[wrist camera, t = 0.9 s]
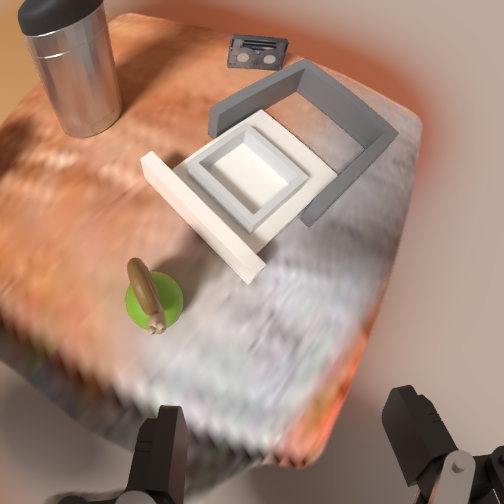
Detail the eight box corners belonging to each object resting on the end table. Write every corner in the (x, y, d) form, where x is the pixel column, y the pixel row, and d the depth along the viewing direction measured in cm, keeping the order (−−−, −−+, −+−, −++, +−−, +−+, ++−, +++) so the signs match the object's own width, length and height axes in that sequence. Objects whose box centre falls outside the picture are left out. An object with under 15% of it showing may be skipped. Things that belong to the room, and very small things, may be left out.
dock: (207, 134, 37) (210, 107, 33) (296, 81, 43) (305, 58, 38) (309, 227, 36) (324, 209, 31) (382, 152, 41) (399, 133, 37)
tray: (145, 178, 34) (140, 158, 30) (251, 106, 39) (256, 86, 36) (248, 284, 32) (255, 275, 28) (345, 188, 38) (359, 172, 34)
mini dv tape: (278, 65, 44) (287, 37, 38) (279, 71, 44) (288, 43, 38) (227, 62, 42) (231, 33, 37) (227, 68, 42) (232, 38, 36)
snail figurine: (149, 349, 29) (119, 348, 18) (124, 291, 30) (85, 257, 19) (198, 327, 30) (197, 314, 19) (171, 270, 32) (157, 225, 20)
